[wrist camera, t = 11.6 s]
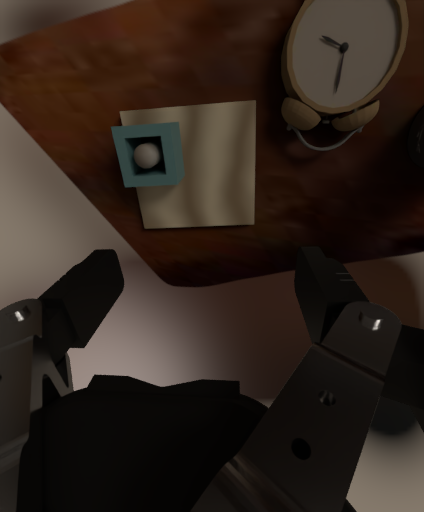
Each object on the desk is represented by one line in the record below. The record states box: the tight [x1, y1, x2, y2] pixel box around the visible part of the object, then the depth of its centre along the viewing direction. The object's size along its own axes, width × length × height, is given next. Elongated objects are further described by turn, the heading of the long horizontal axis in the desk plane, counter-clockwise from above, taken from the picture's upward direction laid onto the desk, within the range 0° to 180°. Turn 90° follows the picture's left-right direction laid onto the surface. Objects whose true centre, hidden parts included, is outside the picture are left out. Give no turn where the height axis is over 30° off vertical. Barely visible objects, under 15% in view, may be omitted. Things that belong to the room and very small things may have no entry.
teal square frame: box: [111, 122, 185, 187], centre depth 28 cm, size 6×6×5 cm
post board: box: [120, 100, 256, 229], centre depth 30 cm, size 16×15×8 cm
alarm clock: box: [281, 0, 409, 151], centre depth 26 cm, size 11×5×15 cm
